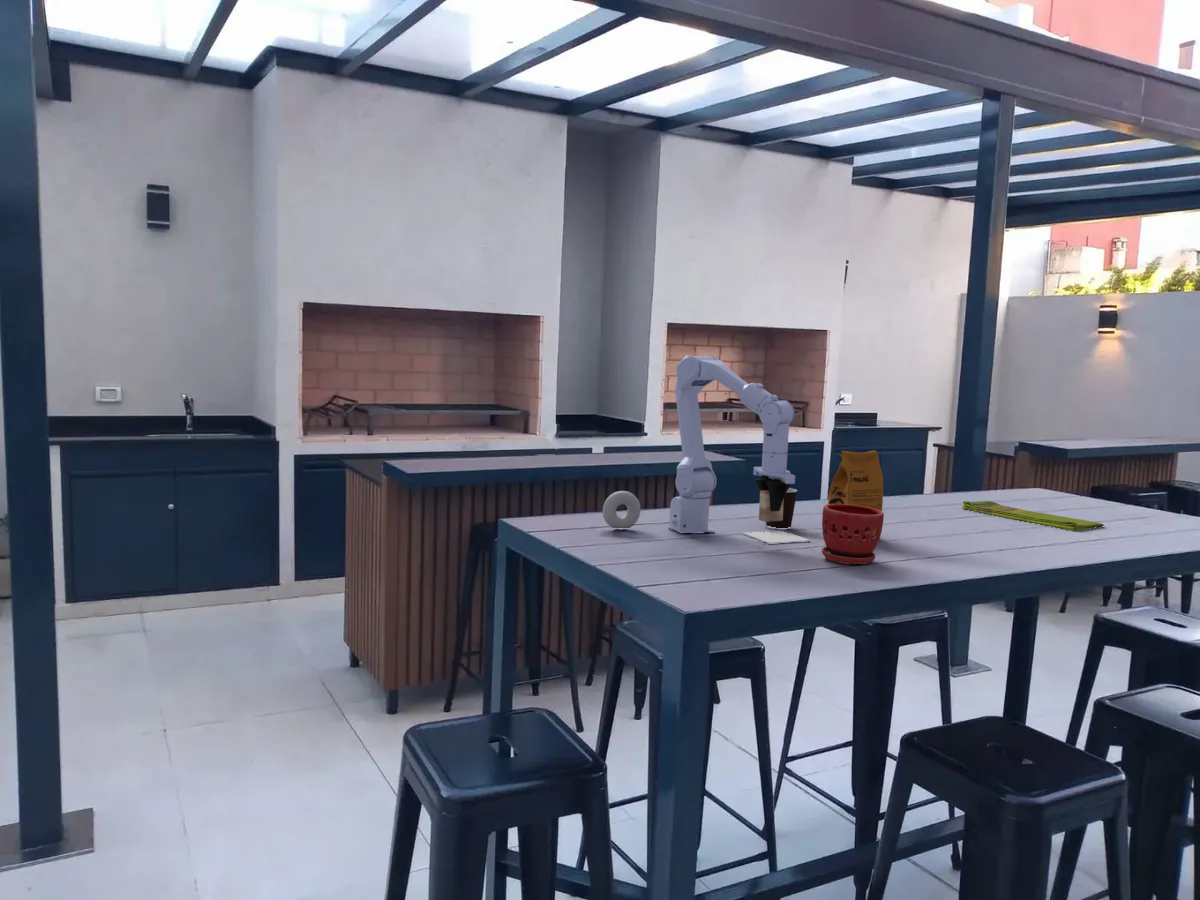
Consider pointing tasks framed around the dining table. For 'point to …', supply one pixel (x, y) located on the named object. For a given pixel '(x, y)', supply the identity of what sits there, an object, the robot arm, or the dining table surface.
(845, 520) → the plant pot
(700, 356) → the robot arm
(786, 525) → the coffee mug
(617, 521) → the donut
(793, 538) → the mat
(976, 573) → the dining table surface
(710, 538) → the dining table surface
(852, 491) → the coffee package
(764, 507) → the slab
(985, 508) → the dish towel
